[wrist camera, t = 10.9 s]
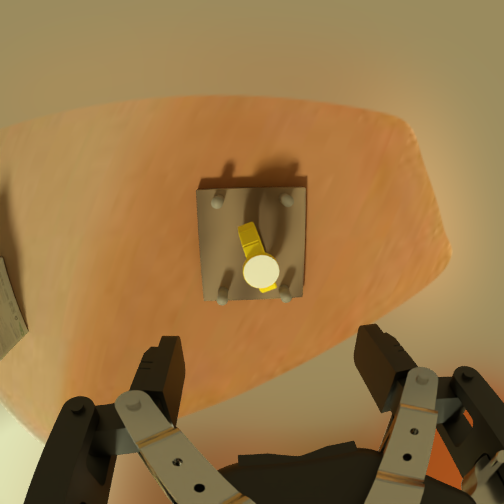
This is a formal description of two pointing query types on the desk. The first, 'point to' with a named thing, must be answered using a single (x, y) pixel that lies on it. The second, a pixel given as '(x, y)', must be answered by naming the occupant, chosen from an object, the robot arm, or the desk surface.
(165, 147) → the desk surface
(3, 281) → the ink box
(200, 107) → the desk surface
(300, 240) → the pin plate
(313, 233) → the desk surface
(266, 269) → the watch
